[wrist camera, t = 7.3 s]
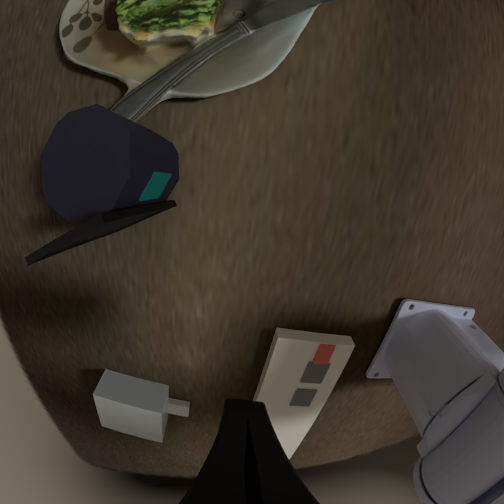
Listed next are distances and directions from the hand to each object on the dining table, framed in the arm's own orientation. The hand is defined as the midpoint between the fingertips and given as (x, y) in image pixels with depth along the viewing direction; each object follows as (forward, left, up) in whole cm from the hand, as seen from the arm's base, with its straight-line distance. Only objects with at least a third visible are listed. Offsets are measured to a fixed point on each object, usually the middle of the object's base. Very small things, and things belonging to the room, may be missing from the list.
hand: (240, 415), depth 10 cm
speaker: (+8, -6, -11) cm, 15 cm away
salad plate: (+7, -20, -11) cm, 24 cm away
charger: (+7, +13, -11) cm, 19 cm away
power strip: (-6, +12, -10) cm, 17 cm away
